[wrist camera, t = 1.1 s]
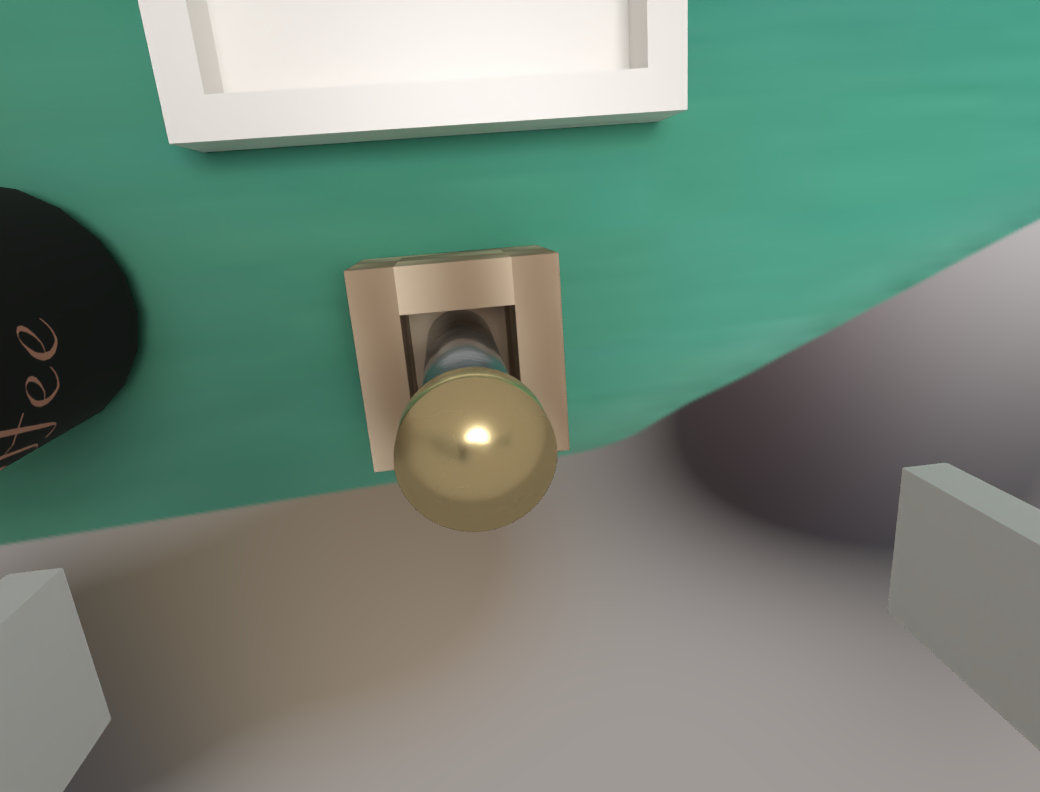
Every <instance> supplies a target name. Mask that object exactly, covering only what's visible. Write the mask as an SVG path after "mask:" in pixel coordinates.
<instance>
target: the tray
mask: <svg viewBox="0 0 1040 792" xmlns="http://www.w3.org/2000/svg"><path fill="white" fill-rule="evenodd" d="M138 3H139V8H140V12H141V17H142V21H143V26H144V31H145V35H146V40H147V44H148V49H149V53H150V58H151V63H152V67H153V72H154V76H155V81H156V85H157V90H158V94H159V99H160V104H161V108H162V113H163V117H164V122H165V126H166V131H167V136H168V140H169V144H172V145H176V146H180V147H184V148H188V149H192V150H196V151H200V152H215V151H229V150H244V149H259V148H274V147H289V146H303V145H318V144H333V143H348V142H362V141H377V140H392V139H407V138H421V137H436V136H451V135H466V134H480V133H495V132H510V131H525V130H540V129H554V128H569V127H584V126H599V125H613V124H628V123H643V122H658V121H661V120H663V119H666V118H668V117H671V116H673V115H675V114H678V113H680V112H683V111H685V110H687V0H138Z"/></svg>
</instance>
